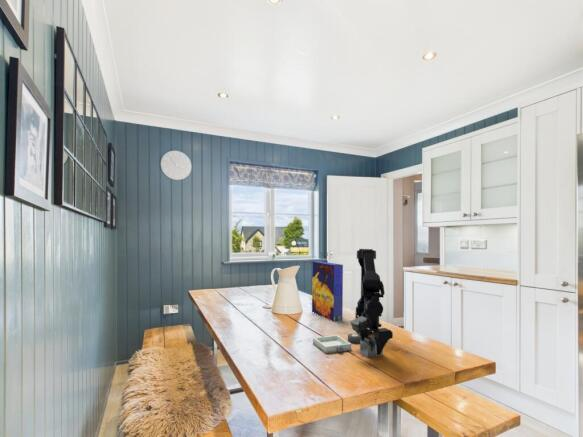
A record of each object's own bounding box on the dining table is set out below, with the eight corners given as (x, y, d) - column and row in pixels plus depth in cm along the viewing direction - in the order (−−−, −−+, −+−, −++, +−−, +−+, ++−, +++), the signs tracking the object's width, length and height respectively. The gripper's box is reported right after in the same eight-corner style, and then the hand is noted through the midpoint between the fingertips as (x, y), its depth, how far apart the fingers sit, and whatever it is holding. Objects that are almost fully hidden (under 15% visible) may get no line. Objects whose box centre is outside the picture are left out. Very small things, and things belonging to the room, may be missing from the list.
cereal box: (311, 312, 191) (312, 261, 193) (320, 311, 194) (321, 260, 195) (333, 321, 172) (333, 264, 173) (342, 320, 175) (342, 264, 176)
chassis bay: (335, 339, 142) (335, 333, 142) (353, 351, 128) (353, 345, 129) (311, 342, 138) (311, 336, 138) (327, 355, 124) (327, 348, 124)
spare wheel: (356, 338, 145) (357, 332, 145) (364, 342, 139) (364, 336, 139) (345, 339, 142) (345, 333, 143) (352, 344, 137) (352, 338, 137)
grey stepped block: (375, 351, 130) (375, 335, 130) (382, 355, 125) (382, 339, 125) (360, 353, 127) (360, 337, 127) (367, 357, 122) (367, 341, 123)
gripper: (341, 306, 133) (341, 345, 132) (368, 317, 115) (367, 362, 115) (364, 304, 137) (364, 342, 136) (393, 315, 119) (393, 358, 119)
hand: (371, 350), depth 126 cm, fingers open, 9 cm apart
